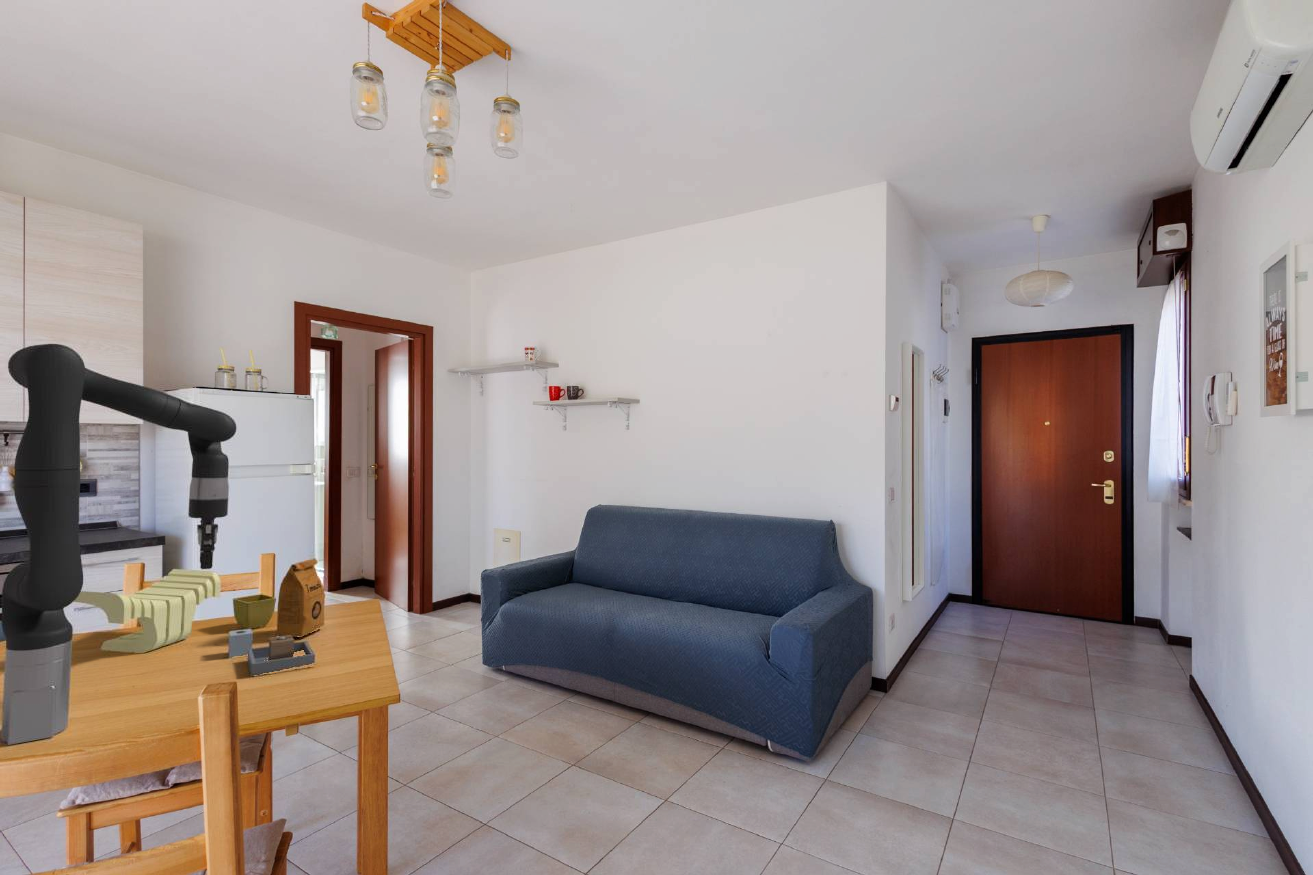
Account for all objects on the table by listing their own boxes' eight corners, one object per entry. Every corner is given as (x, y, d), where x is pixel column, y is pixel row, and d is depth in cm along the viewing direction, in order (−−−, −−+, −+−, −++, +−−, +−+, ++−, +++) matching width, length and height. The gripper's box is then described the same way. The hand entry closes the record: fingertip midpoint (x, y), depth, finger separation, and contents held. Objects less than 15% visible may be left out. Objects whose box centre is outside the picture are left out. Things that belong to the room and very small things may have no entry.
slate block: (251, 655, 168) (252, 633, 168) (229, 658, 165) (230, 635, 165) (250, 650, 172) (251, 628, 172) (228, 653, 169) (229, 631, 169)
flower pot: (260, 621, 199) (262, 593, 199) (275, 626, 195) (277, 597, 195) (230, 627, 192) (231, 598, 192) (245, 632, 187) (246, 602, 187)
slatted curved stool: (121, 664, 158) (125, 594, 159) (66, 659, 160) (70, 590, 161) (218, 631, 188) (221, 571, 188) (171, 627, 190) (173, 568, 190)
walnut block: (293, 663, 162) (294, 638, 162) (270, 666, 158) (271, 641, 159) (290, 657, 166) (291, 633, 166) (268, 660, 162) (269, 636, 163)
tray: (314, 667, 161) (314, 654, 161) (251, 677, 153) (252, 664, 153) (306, 652, 172) (306, 640, 172) (247, 661, 163) (247, 648, 164)
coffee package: (329, 629, 193) (332, 558, 194) (301, 641, 181) (304, 565, 181) (300, 627, 195) (303, 556, 195) (270, 638, 182) (273, 563, 183)
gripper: (230, 498, 144) (226, 569, 143) (226, 494, 155) (223, 559, 155) (189, 499, 139) (185, 572, 139) (189, 494, 151) (185, 562, 150)
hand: (205, 565), depth 147 cm, fingers open, 8 cm apart
